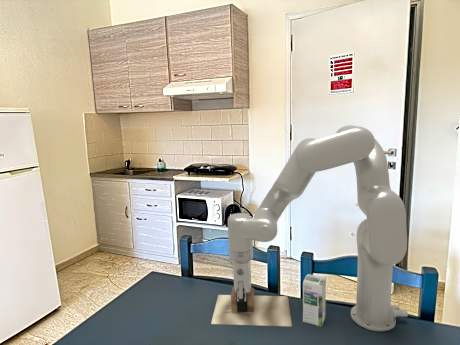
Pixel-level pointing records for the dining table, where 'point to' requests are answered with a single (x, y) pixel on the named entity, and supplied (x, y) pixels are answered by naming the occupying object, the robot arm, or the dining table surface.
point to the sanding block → (248, 297)
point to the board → (265, 312)
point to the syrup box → (314, 299)
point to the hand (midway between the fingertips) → (242, 305)
